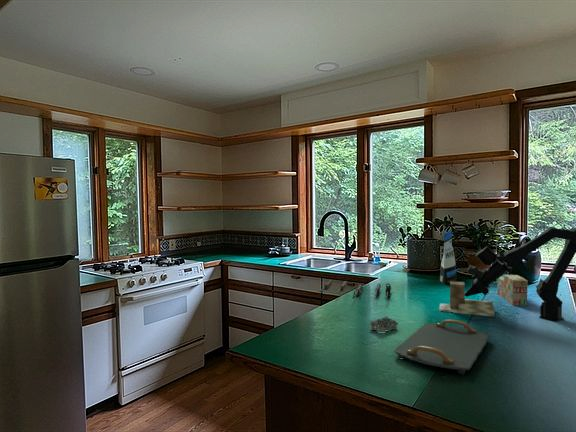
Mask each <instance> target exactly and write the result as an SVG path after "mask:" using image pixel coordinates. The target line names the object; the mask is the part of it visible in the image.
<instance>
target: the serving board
mask: <svg viewBox="0 0 576 432" xmlns="http://www.w3.org/2000/svg"><path fill="white" fill-rule="evenodd" d="M451 324H453V325H451ZM458 325H460V326H458ZM489 339H491V336H490V334H488V333H485V332H481V331H478V330H477V329H474V328H473V327H472V326H471V325H469V324H468V323H467V322H466V321H463V320H456V319H445V320H443V321H441V322H440V323H439V322H437V323H432V322H431V323H430V322H429V323H424V324H423V325H421V327H420V328H418V329H417V330H416V331H415V332H413V334H411V335H410V336H408V338H406V339H405V340H404V341H403V342H402V343H400V344H399V345H398V346H397V347H396V348H395V349H394V351H393V352H394V353H395V354H397V358H398V357H399V358H404V359H408V360H410V361H414V362H418V363H420V364H423V365H427V366H433V367H437V368H442V369H443V368H444V369H450V370H456V371H457V374H458V373H459V374H461V375H460V376H465V375H466V371H469V370H471V368H472V366H473V365H474V363H475V362H476V361H477V359H478V357H479V355H480V354H481V353H483V350H484V348H485V347H486V345H487V343H488V341H489ZM459 374H458V375H459Z"/></svg>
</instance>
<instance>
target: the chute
mask: <svg viewBox="0 0 576 432" xmlns="http://www.w3.org/2000/svg"><path fill="white" fill-rule="evenodd" d="M495 309H496V308H495V306H494V302H493V301H489V300H478V299H477V300H476V299H466V298H465V304H461V303H459V309H453V308H450V303H439V307H438V311H439V312H441V311H443V312H442V313H451V312H453V313H454V314H461V315H462V314H463V315H474V316H484V317H485V316H486V317H495ZM453 313H452V314H453Z"/></svg>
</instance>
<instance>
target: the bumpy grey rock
mask: <svg viewBox="0 0 576 432" xmlns="http://www.w3.org/2000/svg"><path fill="white" fill-rule="evenodd" d="M399 324H400V323H399V322H397V321H396V320H395V319H392V318H389V317H388V316H384V317H381V318H378V319H375V320H369V322H368V325H370V330H371V329H372V330H377V331H376V332H385V333H387V332H386V331H385V330H388V331H390V330H391V329H397V330H398V328H397V327H398V325H399ZM378 325H379V326H378ZM391 331H392V330H391Z"/></svg>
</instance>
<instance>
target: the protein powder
mask: <svg viewBox="0 0 576 432" xmlns="http://www.w3.org/2000/svg"><path fill="white" fill-rule="evenodd" d="M452 231H453V230H449V231H448V232H445V233H443V255H442V259H441V263H440V273H439V282H440V283H441V284H442V285H450V281H452V282H458V280H457V278H458V276H457V265H456V258H455V257H456V256H455V252H454V247H453V245H452V241H453V238H452V236H453V234H452Z"/></svg>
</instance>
